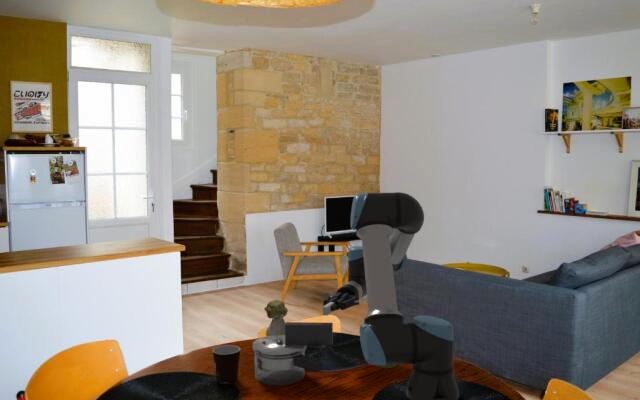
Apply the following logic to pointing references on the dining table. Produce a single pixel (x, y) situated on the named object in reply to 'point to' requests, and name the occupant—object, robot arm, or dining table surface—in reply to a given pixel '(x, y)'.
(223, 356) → the coffee mug
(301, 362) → the pot
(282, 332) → the green sculpted bust
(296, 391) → the dining table surface
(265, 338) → the lid
